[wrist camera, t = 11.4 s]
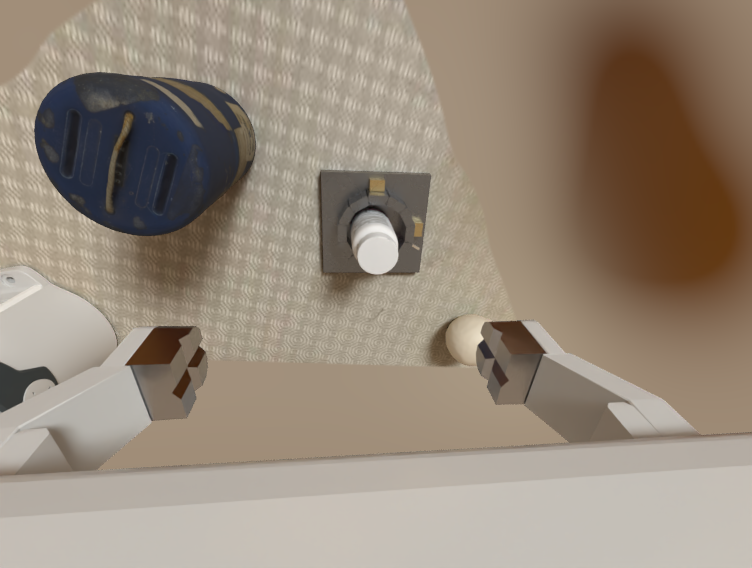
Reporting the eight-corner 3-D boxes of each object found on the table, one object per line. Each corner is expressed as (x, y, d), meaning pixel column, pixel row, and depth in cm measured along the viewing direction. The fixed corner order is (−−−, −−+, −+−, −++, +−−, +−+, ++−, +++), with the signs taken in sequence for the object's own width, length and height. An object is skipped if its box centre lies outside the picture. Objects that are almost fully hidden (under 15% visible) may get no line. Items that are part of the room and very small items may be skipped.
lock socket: (323, 268, 43) (322, 282, 40) (321, 169, 37) (319, 176, 34) (417, 268, 44) (423, 281, 41) (428, 173, 39) (436, 180, 36)
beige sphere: (494, 331, 51) (515, 362, 45) (448, 350, 52) (462, 382, 46) (482, 296, 48) (503, 325, 42) (433, 317, 49) (447, 347, 43)
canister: (141, 138, 34) (-24, 177, 19) (189, 55, 31) (43, 18, 16) (227, 201, 38) (151, 276, 22) (278, 132, 35) (230, 163, 20)
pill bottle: (388, 247, 41) (398, 279, 34) (348, 245, 41) (351, 277, 34) (393, 208, 39) (405, 234, 32) (351, 205, 39) (354, 231, 31)
